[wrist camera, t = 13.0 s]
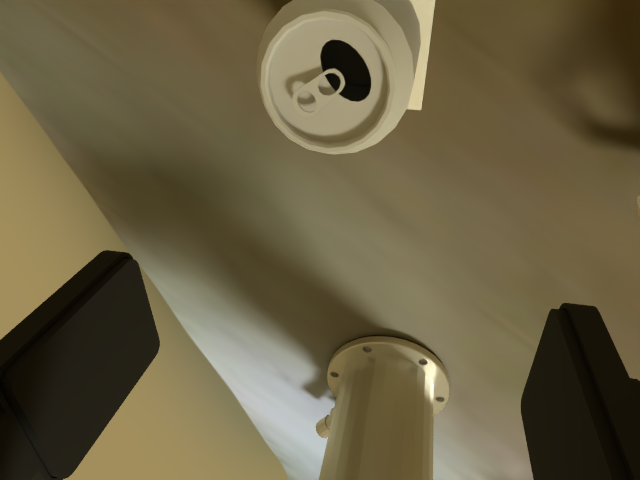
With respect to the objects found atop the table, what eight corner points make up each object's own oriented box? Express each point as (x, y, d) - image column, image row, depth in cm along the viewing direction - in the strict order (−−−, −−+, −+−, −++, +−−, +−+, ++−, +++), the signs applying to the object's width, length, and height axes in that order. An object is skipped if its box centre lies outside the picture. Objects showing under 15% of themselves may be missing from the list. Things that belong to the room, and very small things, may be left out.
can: (443, 55, 29) (446, 112, 19) (349, 118, 33) (310, 194, 23) (379, -56, 26) (344, -56, 17) (285, 25, 30) (210, 65, 20)
